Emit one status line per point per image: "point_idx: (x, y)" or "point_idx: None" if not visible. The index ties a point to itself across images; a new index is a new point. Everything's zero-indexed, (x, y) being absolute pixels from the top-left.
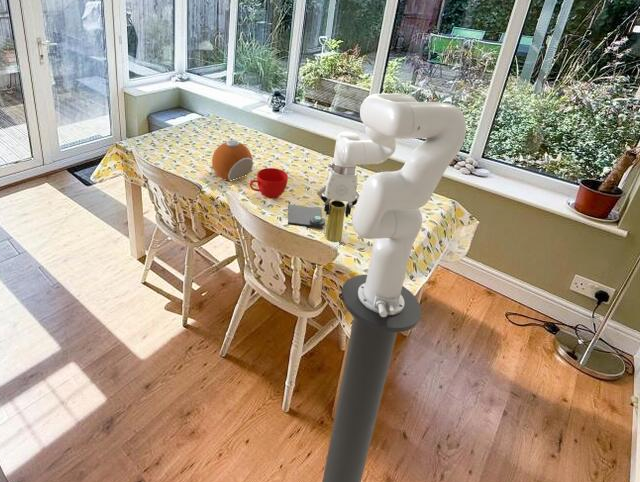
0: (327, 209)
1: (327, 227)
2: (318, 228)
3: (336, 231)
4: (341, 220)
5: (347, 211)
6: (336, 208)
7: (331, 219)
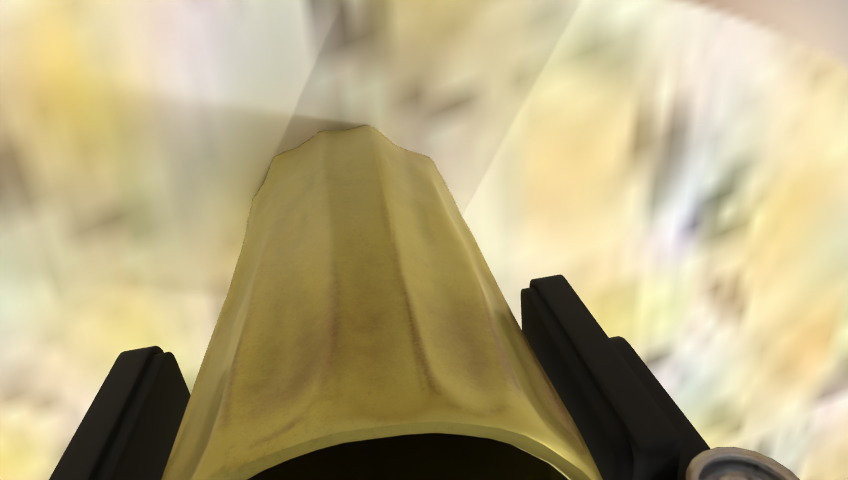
0: (607, 349)
1: (447, 188)
2: None
3: (318, 144)
4: (252, 257)
5: (100, 454)
6: (412, 382)
7: (438, 221)
